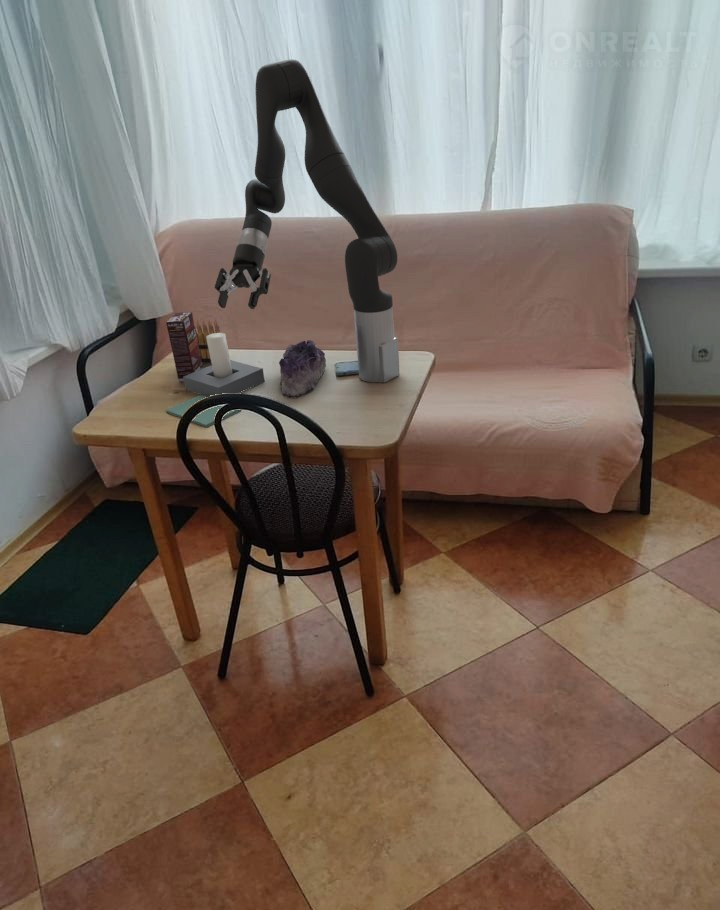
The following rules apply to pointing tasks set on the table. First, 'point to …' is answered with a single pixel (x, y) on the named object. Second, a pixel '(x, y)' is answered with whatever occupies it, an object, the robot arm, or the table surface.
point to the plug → (219, 355)
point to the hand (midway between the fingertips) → (236, 307)
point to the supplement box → (184, 344)
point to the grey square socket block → (224, 380)
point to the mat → (201, 419)
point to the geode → (301, 369)
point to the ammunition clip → (202, 338)
